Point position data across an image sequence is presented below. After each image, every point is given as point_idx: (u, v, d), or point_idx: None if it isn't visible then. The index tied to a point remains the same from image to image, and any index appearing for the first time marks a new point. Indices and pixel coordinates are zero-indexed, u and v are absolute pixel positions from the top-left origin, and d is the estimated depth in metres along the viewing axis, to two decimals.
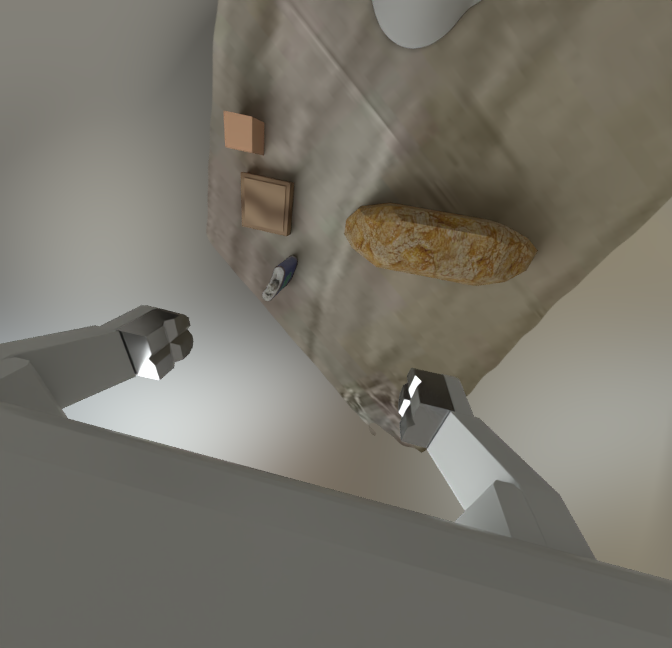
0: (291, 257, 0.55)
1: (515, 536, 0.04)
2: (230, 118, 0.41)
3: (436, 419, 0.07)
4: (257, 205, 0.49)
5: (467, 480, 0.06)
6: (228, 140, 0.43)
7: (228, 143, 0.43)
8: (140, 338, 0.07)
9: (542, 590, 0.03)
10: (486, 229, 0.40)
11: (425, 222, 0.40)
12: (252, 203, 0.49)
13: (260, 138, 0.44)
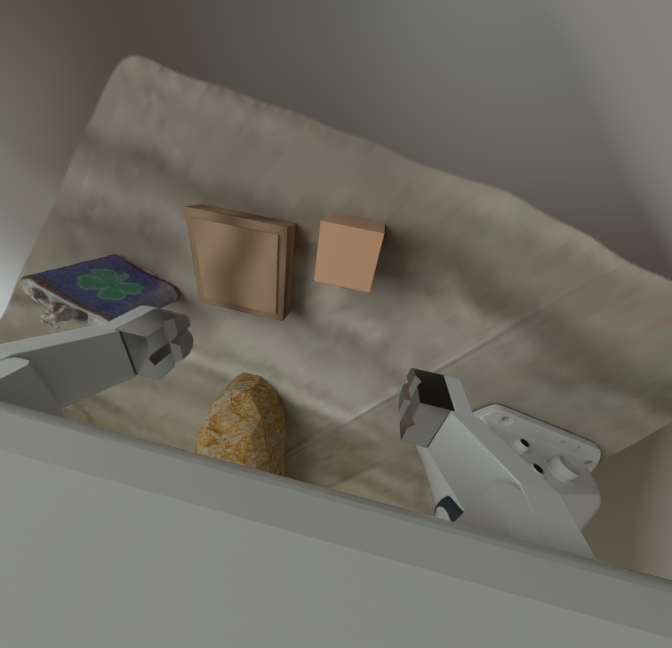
0: (170, 299, 0.29)
1: (515, 536, 0.04)
2: (370, 246, 0.19)
3: (436, 419, 0.07)
4: (234, 254, 0.24)
5: (467, 480, 0.06)
6: (332, 232, 0.19)
7: (327, 230, 0.19)
8: (139, 339, 0.07)
9: (542, 590, 0.03)
10: None
11: None
12: (235, 245, 0.23)
13: None
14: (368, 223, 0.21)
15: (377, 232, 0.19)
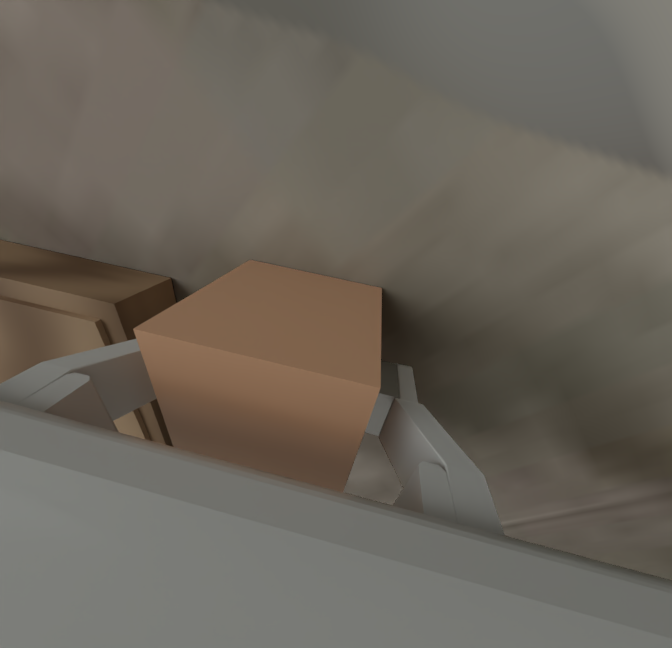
0: None
1: (427, 513, 0.04)
2: (328, 417, 0.05)
3: (383, 406, 0.07)
4: (20, 354, 0.10)
5: (408, 465, 0.06)
6: (187, 365, 0.05)
7: (168, 359, 0.05)
8: None
9: (542, 590, 0.03)
10: None
11: None
12: (12, 336, 0.09)
13: None
14: (335, 299, 0.07)
15: (353, 380, 0.05)
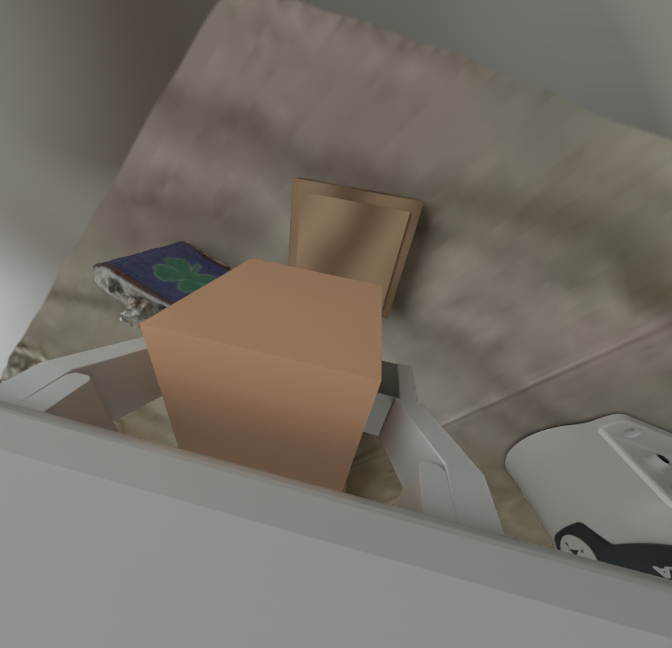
0: None
1: (427, 513, 0.04)
2: (330, 410, 0.05)
3: (383, 406, 0.07)
4: (345, 238, 0.20)
5: (408, 465, 0.06)
6: (192, 359, 0.05)
7: (173, 353, 0.05)
8: None
9: (542, 590, 0.03)
10: None
11: None
12: (350, 226, 0.19)
13: None
14: (335, 296, 0.07)
15: (354, 373, 0.05)
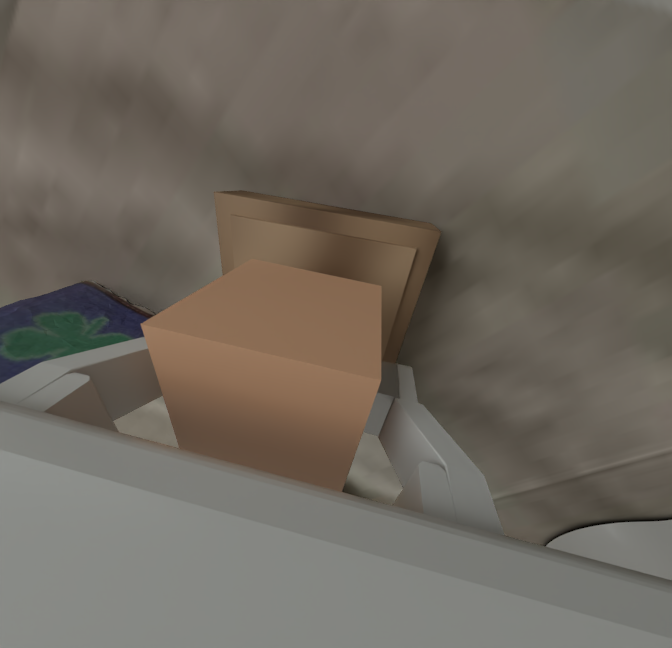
0: None
1: (427, 513, 0.04)
2: (330, 409, 0.05)
3: (383, 406, 0.07)
4: None
5: (408, 465, 0.06)
6: (193, 359, 0.05)
7: (174, 353, 0.05)
8: None
9: (542, 590, 0.03)
10: None
11: None
12: (316, 269, 0.12)
13: None
14: (335, 296, 0.08)
15: (354, 373, 0.05)
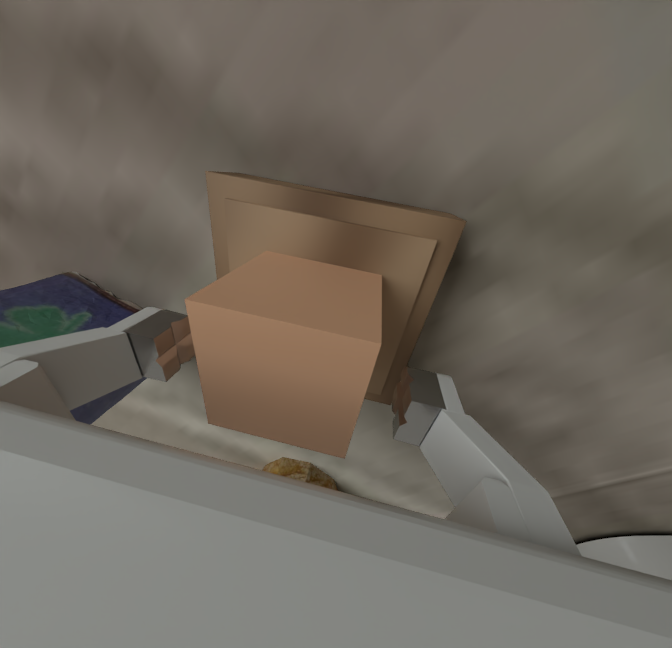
0: None
1: (501, 532, 0.04)
2: (339, 372, 0.06)
3: (428, 417, 0.07)
4: None
5: (458, 478, 0.06)
6: (226, 329, 0.06)
7: (210, 325, 0.06)
8: (147, 340, 0.07)
9: (542, 590, 0.03)
10: None
11: None
12: None
13: None
14: (342, 282, 0.09)
15: (359, 338, 0.06)
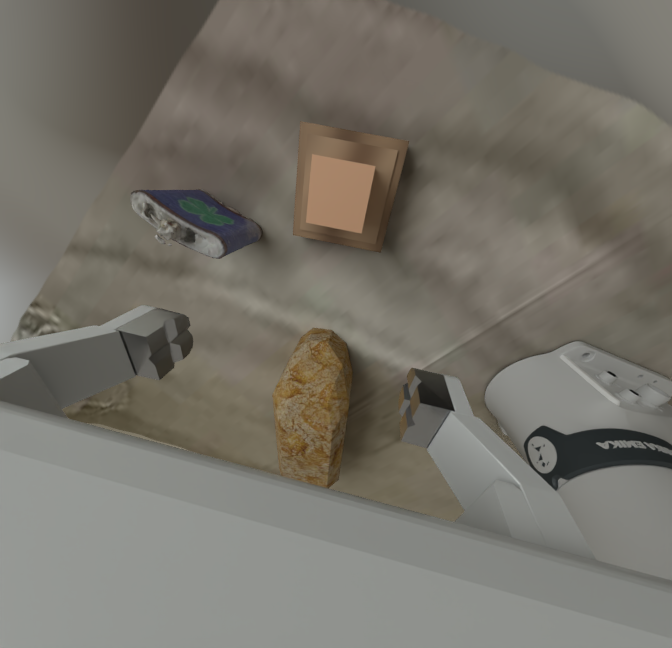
0: (256, 236, 0.29)
1: (515, 536, 0.04)
2: (361, 181, 0.19)
3: (436, 419, 0.07)
4: None
5: (467, 480, 0.06)
6: (324, 166, 0.19)
7: (318, 164, 0.19)
8: (140, 338, 0.07)
9: (542, 590, 0.03)
10: (332, 478, 0.40)
11: (333, 446, 0.35)
12: None
13: None
14: None
15: (368, 165, 0.19)
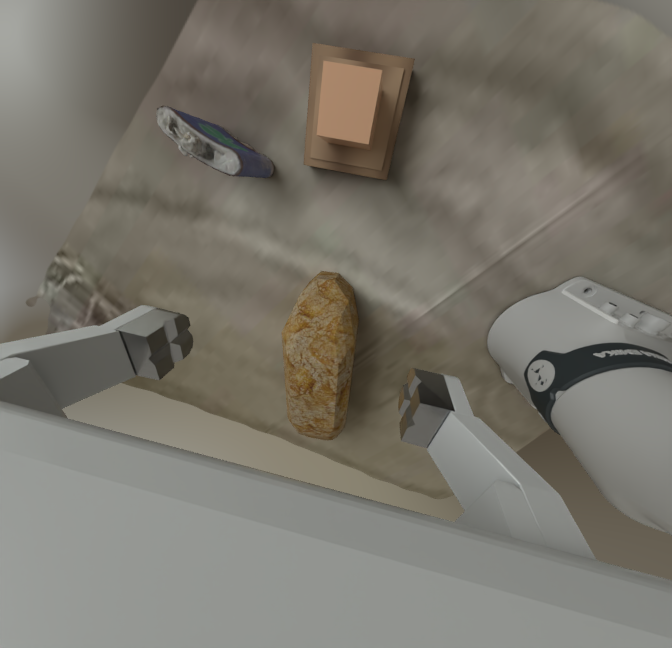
0: (269, 169, 0.30)
1: (515, 536, 0.04)
2: (369, 87, 0.21)
3: (436, 419, 0.07)
4: None
5: (467, 480, 0.06)
6: (334, 73, 0.21)
7: (329, 71, 0.21)
8: (139, 339, 0.07)
9: (542, 590, 0.03)
10: (339, 422, 0.42)
11: (339, 383, 0.36)
12: None
13: (346, 144, 0.26)
14: None
15: (376, 70, 0.20)
